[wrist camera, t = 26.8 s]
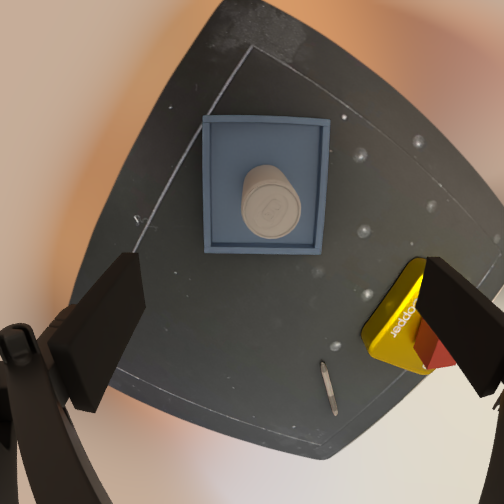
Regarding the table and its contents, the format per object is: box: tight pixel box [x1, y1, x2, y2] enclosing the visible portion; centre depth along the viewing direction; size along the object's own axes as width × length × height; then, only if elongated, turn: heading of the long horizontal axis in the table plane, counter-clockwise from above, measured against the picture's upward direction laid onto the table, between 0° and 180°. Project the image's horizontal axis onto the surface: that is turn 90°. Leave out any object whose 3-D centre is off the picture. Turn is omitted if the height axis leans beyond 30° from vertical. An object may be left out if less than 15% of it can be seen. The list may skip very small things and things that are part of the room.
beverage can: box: [241, 165, 301, 239], centre depth 31 cm, size 5×5×12 cm
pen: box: [321, 362, 338, 416], centre depth 48 cm, size 1×14×1 cm, turn 18°
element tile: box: [361, 258, 435, 375], centre depth 42 cm, size 15×15×5 cm
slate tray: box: [202, 115, 330, 255], centre depth 36 cm, size 16×14×2 cm
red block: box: [413, 319, 456, 370], centre depth 37 cm, size 5×5×5 cm
